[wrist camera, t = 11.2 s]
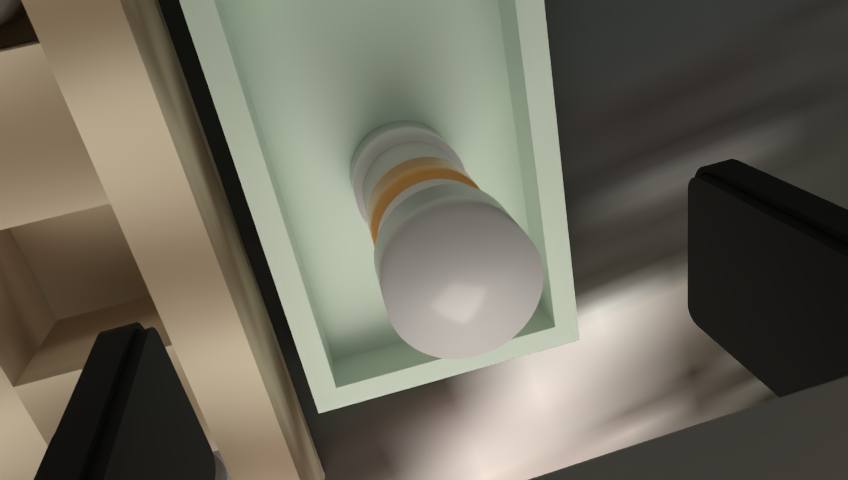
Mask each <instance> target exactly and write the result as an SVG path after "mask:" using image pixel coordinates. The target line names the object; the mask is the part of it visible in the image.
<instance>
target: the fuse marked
mask: <svg viewBox="0 0 848 480" xmlns="http://www.w3.org/2000/svg"><path fill="white" fill-rule="evenodd" d="M350 179H351V185H352V188H353V192H354V196H355V199H356V203H357V206H358V209H359V212H360V214H361V216H362V218H363V219H364V221H365V222H366V223H367V225H368V227H369V231H370V234H371V237H372V241H373V244H374V248H375V249H374V265H375V271H376V275H377V278H378V282H379V286H380V289H381V293H382V296H383V300H384V304H385V307H386V311H387V314H388V317H389V320H390V322H391V324H392V326H393V327H394V329H395V330H396V332H397V333H398V335H399V336H400V337H401V338H402V339H403V340H404V341H405V342H406V343H408V344H409V345H410V346H412V347H413V348H415V349H417V350H418V351H420V352H422V353H425V354H427V355H430V356H434V357H438V358H445V359H463V358H470V357H475V356H479V355H482V354H485V353H488V352H490V351H492V350H494V349H496V348H498V347H500V346H502V345H503V344H505V343H506V342H508V341H509V340H510V339H512V338H513V337H514V336H515V335H516V334H517V333H518V332H520V331H521V330H522V328H523V327H524V326H525V325H526V324H527V323H528V321H529V320H530V318H531V317H532V315H533V313H534V311H535V309H536V307H537V305H538V303H539V300H540V297H541V293H542V289H543V279H544V277H543V266H542V261H541V258H540V255H539V252H538V250H537V248H536V247H535V245H534V243H533V242H532V240H531V239H530V238H529V236H528V235H527V234H526V233H525V232H524V231H523V230H522V228H521V227H520V226H519V225H518V224H517V223H516V221H515V220H514V219H513V218H512V217H511V216H510V215H509V213H508V212H507V211H506V210H505V209H504V208H503V207H502V205H501V204H500V203H499V202H498V201H497V200H495V199H494V198H493V197H492V196H490V195H489V194H487V193H485V192H483V191H481V189H480V188H479V187H478V186H477V185H476V184H475V182H474V181H473V180H472V179H471V178H470V176H469V175H468V174H467V173H466V171H465V168H464V166H463V163H462V161H461V160H460V158H459V157H458V155H457V154H456V153H455V151H454V150H453V149H452V148H451V147H450V146H449V145H448V143H447V142H446V141H445V140H444V139H443V138H442V137H441V136H440V135H439V134H438V133H437V132H436V131H435V130H433V129H432V128H431V127H429V126H427V125H425V124H422V123H419V122H415V121H409V120H398V121H392V122H389V123H386V124H383V125H381V126H379V127H377V128H375V129H374V130H372V131H371V132H370V133H369V134H367V135H366V136H365V137H364V138H363V140H362V141H361V142H360V144H359V145H358V146H357V148H356V150H355V152H354V155H353V157H352V161H351V166H350Z"/></svg>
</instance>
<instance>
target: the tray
mask: <svg viewBox="0 0 848 480" xmlns="http://www.w3.org/2000/svg"><path fill="white" fill-rule="evenodd" d="M179 1H180V4H181V7H182V10H183V13H184V16H185V19H186V22H187V25H188V28H189V31H190V34H191V37H192V40H193V43H194V46H195V49H196V52H197V55H198V58H199V61H200V64H201V66H202V69H203V72H204V75H205V78H206V81H207V84H208V87H209V90H210V93H211V96H212V99H213V102H214V105H215V108H216V111H217V114H218V117H219V120H220V123H221V126H222V129H223V132H224V135H225V138H226V141H227V143H228V146H229V149H230V152H231V155H232V158H233V161H234V164H235V167H236V170H237V173H238V176H239V179H240V182H241V185H242V188H243V191H244V194H245V197H246V200H247V203H248V206H249V209H250V212H251V215H252V217H253V220H254V223H255V226H256V229H257V232H258V235H259V238H260V241H261V244H262V247H263V250H264V253H265V256H266V259H267V262H268V265H269V268H270V271H271V274H272V277H273V280H274V283H275V286H276V289H277V292H278V294H279V297H280V300H281V303H282V306H283V309H284V312H285V315H286V318H287V321H288V324H289V327H290V330H291V333H292V336H293V339H294V342H295V345H296V348H297V351H298V354H299V357H300V360H301V363H302V366H303V369H304V371H305V374H306V377H307V380H308V383H309V386H310V389H311V392H312V395H313V398H314V401H315V404H316V407H317V410H318V413H322V412H326V411H330V410H333V409H337V408H340V407H344V406H347V405H351V404H354V403H358V402H362V401H365V400H369V399H372V398H376V397H379V396H383V395H386V394H390V393H393V392H397V391H401V390H404V389H408V388H411V387H415V386H418V385H422V384H425V383H429V382H433V381H436V380H440V379H443V378H447V377H450V376H454V375H457V374H461V373H464V372H468V371H472V370H475V369H479V368H482V367H486V366H489V365H493V364H496V363H500V362H503V361H507V360H511V359H514V358H518V357H521V356H525V355H528V354H532V353H535V352H539V351H543V350H546V349H550V348H553V347H557V346H560V345H564V344H567V343H571V342H574V341H578V340H579V331H578V321H577V311H576V302H575V292H574V283H573V273H572V264H571V254H570V244H569V235H568V225H567V216H566V206H565V197H564V187H563V177H562V168H561V158H560V149H559V139H558V130H557V120H556V110H555V101H554V91H553V82H552V72H551V63H550V53H549V43H548V34H547V24H546V15H545V5H544V0H179ZM398 120H409V121H415V122H419V123H422V124H425V125H427V126H429V127H431V128H432V129H433V130H435V131H436V132H437V133H438V134H439V135H440V136H441V137H442V138H443V139H444V140H445V141H446V142H447V143H448V145H449V146H450V147H451V148H452V149H453V150H454V151H455V153H456V154H457V155H458V157H459V158H460V160H461V161H462V163H463V166H464V168H465V171H466V173H467V174H468V175H469V176H470V178H471V179H472V180H473V181H474V182H475V184H476V185H477V186H478V187H479V188H480V189H481V191H483V192H485V193H487V194H489V195H490V196H492V197H493V198H494V199H495V200H497V201H498V202H499V203H500V204H501V205H502V207H503V208H504V209H505V210H506V211H507V212H508V213H509V215H510V216H511V217H512V218H513V219H514V220H515V221H516V223H517V224H518V225H519V226H520V227H521V228H522V230H523V231H524V232H525V233H526V234H527V235H528V236H529V238H530V239H531V240H532V242H533V243H534V245H535V247H536V248H537V250H538V252H539V255H540V258H541V261H542V266H543V277H544V279H543V289H542V293H541V297H540V300H539V303H538V305H537V307H536V309H535V311H534V313H533V315H532V317H531V318H530V320H529V321H528V323H527V324H526V325H525V326H524V327H523V328H522V330H521V331H520V332H518V333H517V334H516V335H515V336H514V337H513V338H512V339H510V340H509V341H508V342H506V343H505V344H503V345H502V346H500V347H498V348H496V349H494V350H492V351H490V352H488V353H485V354H482V355H479V356H475V357H470V358H463V359H445V358H438V357H434V356H430V355H427V354H425V353H422V352H420V351H418V350H417V349H415V348H413V347H412V346H410V345H409V344H408V343H406V342H405V341H404V340H403V339H402V338H401V337H400V336H399V335H398V333H397V332H396V330H395V329H394V327H393V326H392V324H391V322H390V320H389V317H388V314H387V311H386V307H385V304H384V300H383V296H382V293H381V289H380V286H379V282H378V278H377V275H376V271H375V265H374V249H375V248H374V244H373V241H372V237H371V234H370V231H369V227H368V225H367V223H366V222H365V221H364V219H363V218H362V216H361V214H360V212H359V209H358V206H357V203H356V199H355V196H354V192H353V188H352V185H351V179H350V166H351V161H352V157H353V155H354V152H355V150H356V148H357V146H358V145H359V144H360V142H361V141H362V140H363V138H364V137H365V136H366V135H367V134H369V133H370V132H371V131H372V130H374V129H375V128H377V127H379V126H381V125H383V124H386V123H389V122H392V121H398Z"/></svg>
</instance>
